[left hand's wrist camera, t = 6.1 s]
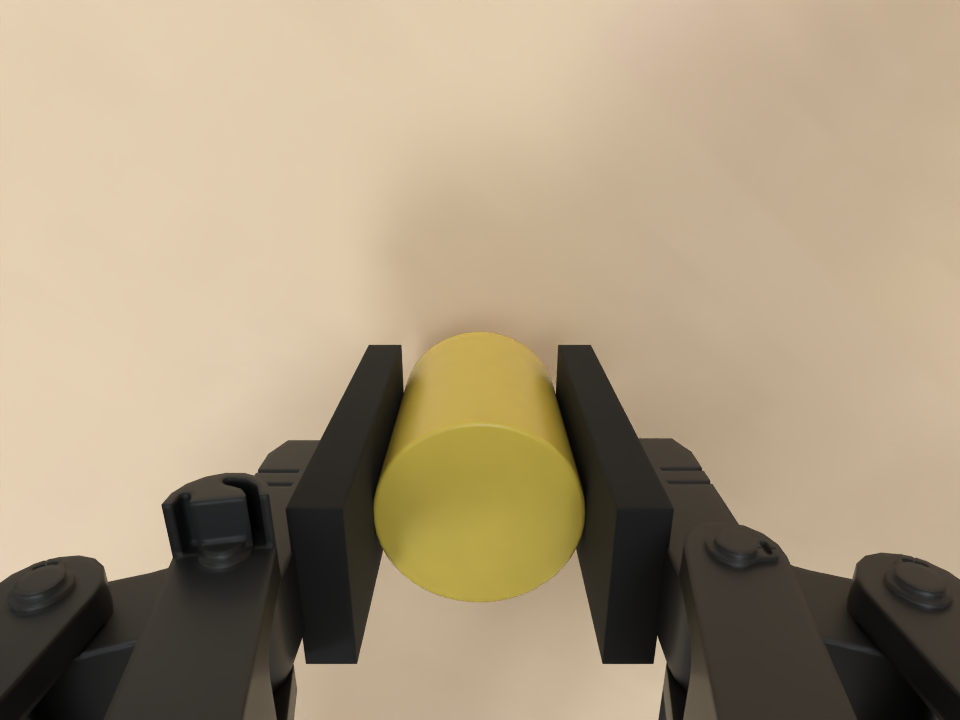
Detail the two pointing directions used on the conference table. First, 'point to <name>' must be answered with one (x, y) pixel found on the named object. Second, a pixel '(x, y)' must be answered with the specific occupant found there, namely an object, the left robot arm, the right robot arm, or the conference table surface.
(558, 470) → the canister
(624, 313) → the conference table surface
